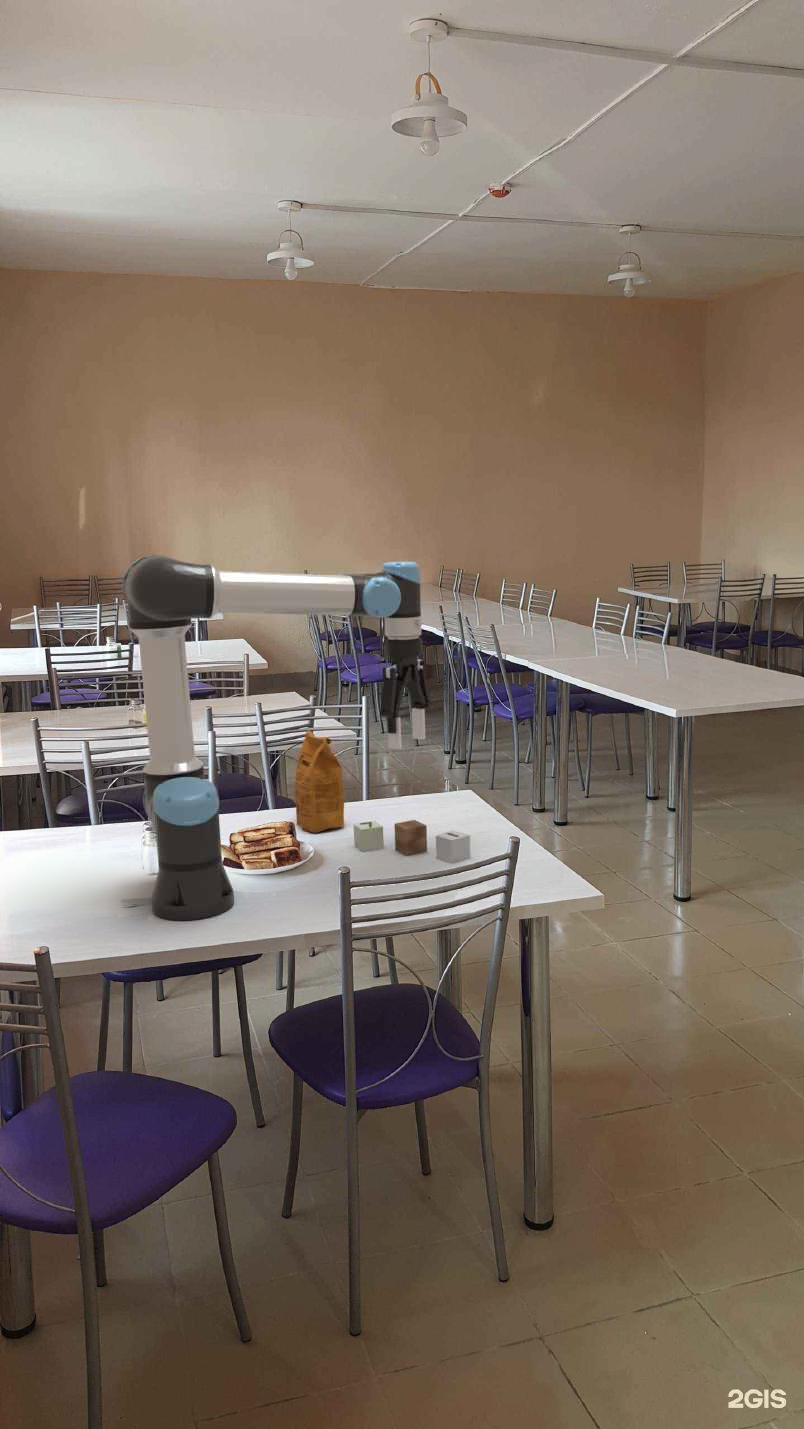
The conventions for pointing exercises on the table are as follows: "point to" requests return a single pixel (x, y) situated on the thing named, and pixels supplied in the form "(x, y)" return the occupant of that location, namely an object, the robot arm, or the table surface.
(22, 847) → the table surface
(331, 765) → the coffee package
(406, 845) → the plain walnut block
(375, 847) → the sage numbered block
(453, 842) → the grey numbered block
